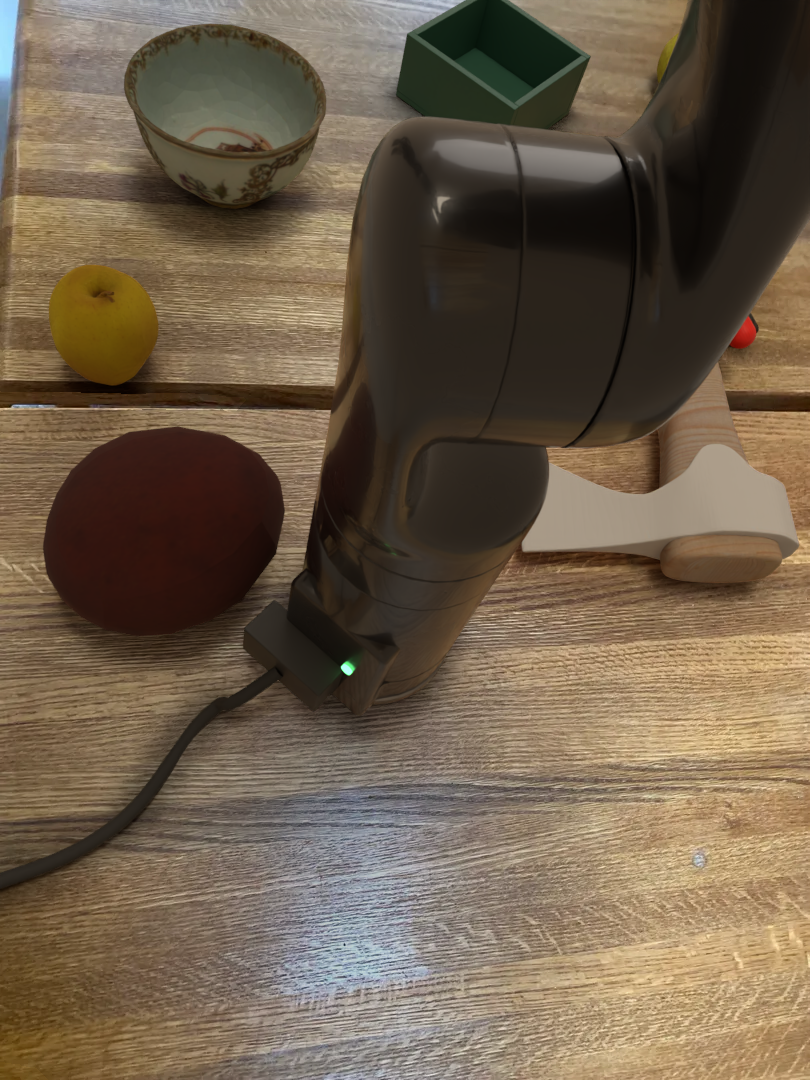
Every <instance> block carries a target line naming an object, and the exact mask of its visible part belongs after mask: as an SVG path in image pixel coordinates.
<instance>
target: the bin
mask: <svg viewBox="0 0 810 1080" xmlns="http://www.w3.org/2000/svg"><path fill="white" fill-rule="evenodd" d="M590 60H591V55H590V54H588V53H587V52H585V51H584V50H582V49H581V48H579V47H578V46H577V45H575V44H574V43H572V42H571V41H570V40H568V39H566V38H565V37H564V36H562V35H561V34H559V33H557V32H556V31H555V30H553V29H551V28H550V27H549V26H547V25H546V24H545V23H543V22H542V21H540V20H539V19H537V18H535V16H533V15H531V14H530V13H528V12H526V11H525V10H524V9H522V8H521V7H520V6H518V5H517V4H516V3H514V2H512V1H511V0H463V1H462V2H459V3H458V4H456V5H454V6H453V7H451V8H450V9H448V10H445V11H444V12H442V13H441V14H439V15H437V16H435V17H433V18H432V19H430V20H428V21H427V22H425V23H424V24H422V25H420V26H418V27H417V28H414V29H413V30H412V31H409V32H408V33H406V38H405V44H404V49H403V54H402V58H401V65H400V68H399V75H398V80H397V85H396V91H395V96H397V97H398V98H399V99H400V100H402V101H403V102H405V104H407V105H408V106H410V107H412V108H413V109H414V110H416V111H417V112H418V113H420V114H421V115H422V116H423V117H441V118H453V119H462V120H471V121H480V122H487V123H493V124H498V123H499V124H507V125H516V126H524V127H533V128H541V129H550V128H551V127H553V126H554V125H556V123H558V122H559V121H561V120H562V119H563V118H565V117H566V116H568V115H569V114H570V112H571V109H572V106H573V103H574V101H575V98H576V95H577V93H578V91H579V88H580V85H581V83H582V80H583V78H584V75H585V72H586V70H587V67H588V65H589V62H590Z"/></svg>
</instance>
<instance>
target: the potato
mask: <svg viewBox="0 0 810 1080" xmlns="http://www.w3.org/2000/svg"><path fill="white" fill-rule="evenodd" d="M284 502H285V501H284V496H283V491H282V483H281V481H280V478H279V477H278V474H277V473H276V472H275V471H274V470H273V468H272V467H271V466H270V465H269V464H268V463H267V462H266V460H265V459H264V458H263V457H262V456H261V455H260V453H258V452H257V451H254V450H252V449H251V448H249V447H247V446H245V445H244V444H241V443H239V442H238V441H236V440H234V439H232V438H230V437H229V436H227V435H224V434H220V433H215V432H209V431H204V430H199V429H193V428H189V427H185V426H184V427H183V426H179V425H178V426H177V425H175V426H169V427H160V428H152V429H151V428H150V429H143V430H133V431H128V432H125V433H124V434H122V435H120V436H118V437H115V438H113V439H111V440H109V441H107V442H105V443H103V444H100V445H98V446H97V447H95V448H93V449H92V450H91V451H90V452H89V453H88V454H87V455H86V456H85V457H84V458H83V459H81V460H80V461H79V462H78V463H77V464H76V465H75V466H74V467H73V468H72V469H71V470H70V471H69V472H68V474H67V476H66V477H65V479H64V481H63V483H62V484H61V486H59V489H58V491H57V492H56V493H55V496H54V498H53V502H52V504H51V508H50V510H49V513H48V515H47V518H46V523H45V529H44V536H43V544H42V552H43V558H44V559H43V560H44V565H45V571H46V575H47V578H48V580H49V581H50V583H51V584H52V587H53V588H54V589H55V591H56V592H57V594H58V596H59V597H60V599H61V601H62V602H63V603H65V604H66V605H67V606H68V607H69V608H70V609H71V610H72V611H73V612H74V613H75V614H76V615H78V616H79V617H80V618H81V619H83V620H85V621H87V622H89V623H91V624H93V625H94V626H97V627H99V628H100V629H102V630H104V631H108V632H112V633H117V634H122V635H128V636H131V637H132V636H133V637H151V636H152V637H153V636H168V635H174V634H176V633H179V632H182V631H185V630H188V629H191V628H193V627H197V626H199V625H202V624H205V623H207V622H211V621H213V620H214V619H216V618H217V617H219V616H221V615H222V614H224V613H225V612H226V611H229V610H230V609H231V608H233V607H234V606H235V605H238V604H239V603H240V602H242V601H243V600H244V599H245V597H246V596H247V595H248V593H249V592H250V591H251V589H252V588H253V586H254V585H255V584H256V582H257V581H258V579H259V578H260V577H261V575H262V574H263V573H264V572H265V570H266V569H267V567H268V566H269V564H270V563H271V561H272V560H273V559H274V558H275V556H276V555H277V551H278V547H279V542H280V537H281V532H282V529H283V525H284V518H285V514H286V513H285V512H286V509H285V503H284Z"/></svg>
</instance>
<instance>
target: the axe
mask: <svg viewBox="0 0 810 1080" xmlns="http://www.w3.org/2000/svg"><path fill="white" fill-rule="evenodd" d="M727 397H728V396H727V393H726V388H725V384H724V380H723V375H722V372H721V367H720V364H719V361H718V362H717V364H716V365H715V367H714V368H713V369H712V371H711V372H710V373H709V375H708V376H707V378H706V379H705V380H704V382H703V383H702V384H701V385H700V387H699V388H698V389H697V390H696V392H695V393H694V394H693V395H692V397H691V398H690V399H689V400H688V401H687V402H686V403H685V405H684V406H683V407H682V408H681V409H680V410H679V411H678V412H677V413H676V414H675V415H674V416H673V417H672V418H671V419H670V420H668V421H667V422H666V423H665V424H664V425H663V426H661V427H660V428H658V429H657V435H658V444H659V482H658V483H659V484H658V485H659V486H658V488H657V489H655V490H653V491H651V492H648V493H647V492H646V493H628V492H622V491H617V490H614V489H611V488H608V487H605V486H603V485H600V484H598V483H595V482H593V481H590V480H589V479H586V478H584V477H582V476H579V475H577V474H575V473H573V472H570V471H569V470H567V469H564V468H562V467H560V466H559V465H556V464H554V463H552V462H550V461H549V482H548V490H547V495H546V499H545V502H544V505H543V507H542V510H541V512H540V514H539V516H538V518H537V519H536V521H535V523H534V525H533V526H532V528H531V529H530V531H529V532H528V534H527V535H526V537H525V538H524V540H523V541H522V543H521V552H522V553H559V552H561V553H563V552H566V553H567V552H574V553H575V552H596V553H613V554H614V553H617V554H629V555H630V554H631V555H638V556H644V557H648V558H652V559H655V560H659V561H660V570H661V572H662V574H663V575H664V576H665V577H667V578H670V579H673V580H677V581H682V582H692V583H709V584H711V583H712V584H716V583H717V584H718V583H719V584H724V583H725V584H727V583H728V584H730V583H731V584H732V583H745V582H752V581H757V580H758V581H759V580H761V579H764V578H766V577H769V576H770V575H771V574H772V573H774V572H775V571H776V570H777V569H778V568H779V567H780V566H781V565H782V562H783V560H785V559H787V558H789V557H790V556H792V555H793V554H794V553H796V551H797V550H798V549H799V548H800V542H799V537H798V534H797V528H796V525H795V522H794V517H793V514H792V509H791V505H790V501H789V498H788V493H787V489H786V486H785V484H784V483H783V482H782V481H780V480H779V479H777V478H776V477H774V476H772V475H769V474H766V473H763V472H761V471H759V470H757V469H755V468H754V467H753V466H752V465H750V463H749V460H748V458H747V455H746V453H745V450H744V448H743V445H742V443H741V440H740V437H739V435H738V432H737V430H736V426H735V423H734V419H733V416H732V414H731V409H730V406H729V401H728V398H727Z"/></svg>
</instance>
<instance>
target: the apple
mask: <svg viewBox="0 0 810 1080" xmlns="http://www.w3.org/2000/svg"><path fill="white" fill-rule="evenodd" d="M48 323H49V328H50V334H51V337H52V340H53V343H54V346H55V348H56V351H57V353H58V354H59V356H60V357H61V359H62V360H63V361H64V362H65V363H66V365H68V366H69V368H71V369H72V370H73V371H74V372H76V373H77V374H78V375H79V376H81V377H82V378H83V379H86V380H88V381H90V382H92V383H96V384H102V385H108V386H120V385H121V384H124V383H126V382H128V381H130V380H131V379H133V378H134V377H135V376H136V375H137V374H138V373H139V371H140V369H141V368H142V367H143V366H144V364H145V363H146V362H147V360H149V357H150V356H151V354H152V353H153V351H154V349H155V347H156V344H157V341H158V338H159V330H160V328H159V327H160V326H159V319H158V314H157V309H156V307H155V305H154V302H153V300H152V298H151V296H150V295H149V293H148V292H147V291H146V289H145V287H143V286H142V284H140V282H138V280H136V279H135V278H134V277H132V276H131V275H129V274H127V273H125V272H123V271H121V270H118V269H116V268H113V267H110V266H106V265H101V264H100V265H99V264H83V265H80V266H77V267H75V268H73V269H71V270H70V271H68V272H67V273H65V274H64V275H63V276H62V277H61V278H60V280H59V281H57V283H56V284H55V286H54V288H53V290H52V292H51V295H50V297H49V302H48Z"/></svg>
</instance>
